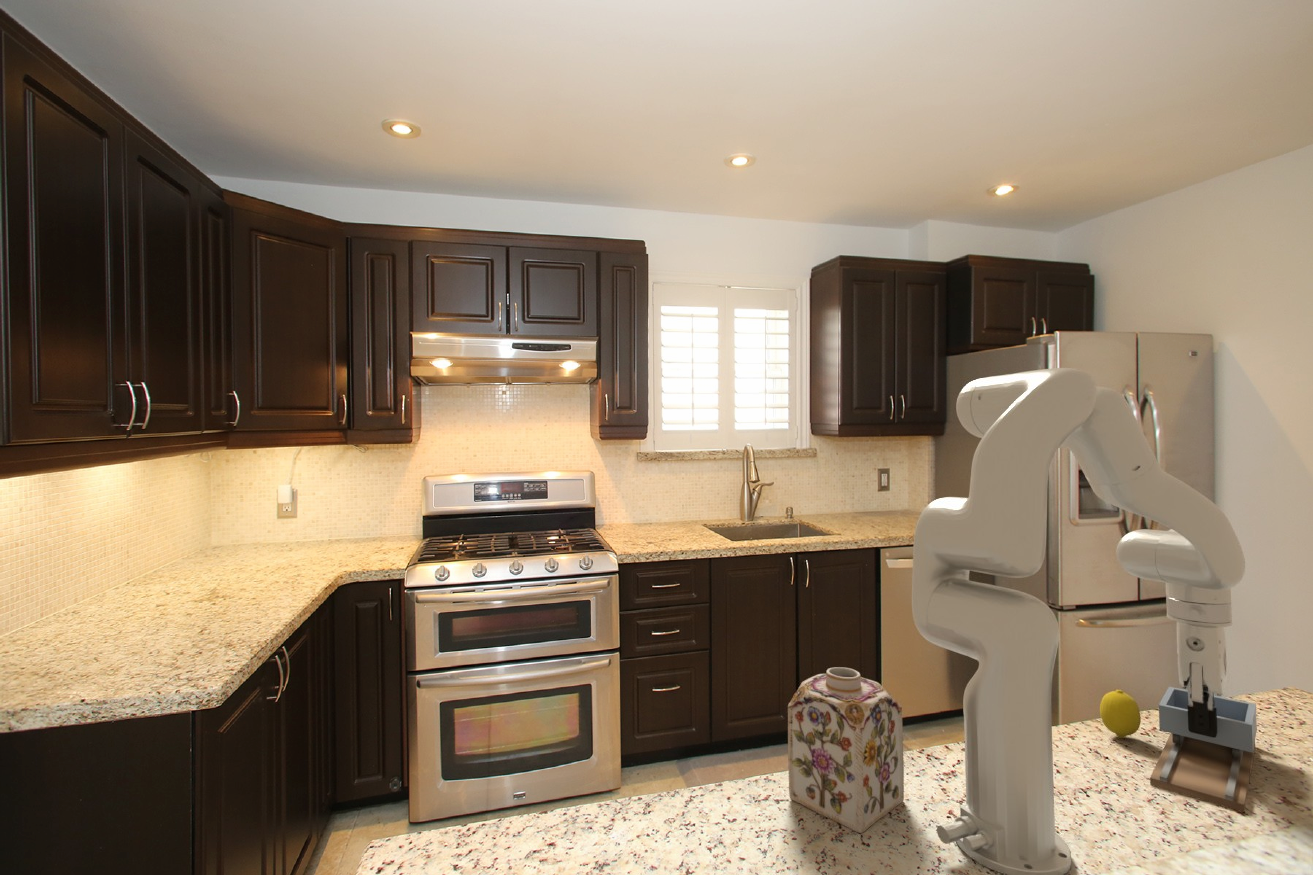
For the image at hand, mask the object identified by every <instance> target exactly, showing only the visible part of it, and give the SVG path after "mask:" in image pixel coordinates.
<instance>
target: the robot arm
mask: <svg viewBox="0 0 1313 875" xmlns="http://www.w3.org/2000/svg"><path fill="white" fill-rule="evenodd" d="M955 405H956V406H955V408H956V415H957V418H958V420H959V423H960V424H961V426H962V427H963V429H964V430H965V431H967V433H969V434H970V435H972V436H974V437H977V438H980V439H981V440H979V443H978V445H977V447H976V449H975V451H974V454H973V458H972V462H971V469H970V471H971V472H970V482H969V494H968V497H961V496H960V497H958V496H946V497H941V498H937V499H935V500H933V501H931V502H930V503H929V504H927V506H925V507H924V509H923V510H922V511H921V513H920V515H919V517H918V520H917V523H916V525H915V529H914V534H913V550H912V552H913V554H912V578H911V579H912V580H911V586H912V588H911V609H912V610H911V612H912V619H913V622H914V625H915V627H916V630H917V631H918V633H919V634H920V636H922V638H924V639H925V640H926V641H927V642H929V643H931V644H933V645H936V646H938V647H939V648H943V649H946V650H949V651H952V652H955V653H958V654H960V655H963V656H967V657H969V658H971V659H974V660H976V661H977V662H978V668H977V670H976V671H975V673H974V674H973V675H972V677H971V678H970V680H969V681H968V683H967V684H966V686H965V689H964V691H963V692H964V693H963V700H962V702H963V705H962V706H963V707H962V708H963V710H962V711H963V727H964V728H963V729H964V730H963V731H964V760H965V761H964V765H965V768H964V769H965V798H966V804H964V805H960V807H959V808H960V810H959V812H960V814H959V815H958V816H957V817H956V818H955V819H954V822H947V823H944V824H940V825H937V828H936V833H937V836H938V838H939V840H940V842H942V844H946V845H947V844H951V843H955V842H956V844H957V845H958V847H959V848H960V849H961V851H963V852H964V853H965V854H967V856H968V857H970V858H971V859H973V860H974V861H976V862H977V863H979V864H980V865H982V866H985V867H986V868H988V869H990V870H993V871H995V872H998V873H1000V874H1004V875H1065V874H1066V873H1068V872H1069V870H1070V868H1071V867H1072V854H1071V850H1070V848H1069V845H1068V844H1067V842H1065V840H1064V839H1063V838H1062V837H1061V836H1060V835H1059V834H1057V832H1056V823H1055V822H1056V819H1055V817H1056V816H1055V793H1054V791H1055V790H1054V789H1055V788H1054V758H1053V757H1054V755H1053V752H1054V751H1053V724H1052V722H1053V721H1052V686H1053V677H1054V676H1053V675H1054V668H1055V662H1056V657H1057V652H1058V647H1059V642H1060V626H1059V623H1058V619H1057V617H1056V614H1055V613H1054V612H1053V610H1052V609H1051V608H1050V607H1049V605H1047V604H1046V603H1045V602H1044V601H1042V600H1041V599H1040V598H1038V597H1036V596H1034V595H1032V594H1029V593H1027V592H1023V591H1022V590H1021V591H1020V590H1017V589H1013V588H1010V587H1009V588H1008V587H1003V586H1000V585H994V584H991V583H983V582H977V581H975V580H973V581H972V580H970V571H971V572H975V573H979V574H980V573H982V574H985V575H990V576H991V575H992V576H998V577H1005V578H1014V579H1015V578H1016V579H1021V578H1028V577H1031V576H1033V575H1035V574H1036V573H1038V572H1039V571H1040V569H1041V568H1042V565H1043V563H1044V560H1045V555H1046V549H1047V548H1046V546H1047V523H1048V522H1047V520H1048V483H1049V473H1050V467H1051V465H1052V464H1051V463H1052V460H1053V458H1054V457H1055V454H1056V452H1057V451H1058V449H1067V450H1069V451H1070V452H1071V453H1072V454H1073V456H1074V458H1075V460H1076V462H1077V464H1078V465H1079V467H1080V469H1081V471H1082V473H1083V475H1084V476H1085V478H1086V480H1087V482H1088V484H1089V485H1090V488H1091V489H1092V491H1093V493H1094V494H1095V495H1096V496H1097V498H1099V499H1100V500H1102V501H1104V502H1105V503H1108V504H1109V505H1112V506H1113V507H1114V506H1115V507H1117V508H1119V509H1121V510H1123V511H1127V512H1129V513H1130V514H1131V513H1132V514H1134V515H1137V516H1140V517H1143V518H1145V519H1146V518H1147V519H1148V520H1151V521H1154V522H1156V523H1158V524H1161V525H1163V526H1165V527H1167V528H1169V530H1160V529H1147V528H1144V529H1136V530H1133V531H1130V532H1127V533H1126V534H1125V535H1124V536H1123V537H1121V539H1120V540H1119V541H1118V543H1117V546H1116V551H1115V552H1116V554H1115V555H1116V560H1117V562H1118V564H1119V566H1120V567H1121V568H1122V570H1123V571H1125V572H1126V573H1128V574H1129V575H1131V576H1133V577H1135V578H1138V579H1142V580H1147V581H1154V582H1158V583H1159V582H1161V583H1165V595H1166V596H1165V598H1166V599H1165V602H1166V603H1165V604H1166V618H1168V619H1169V620H1170V621H1171V620H1172V621H1174V622H1176V655H1177V668H1178V669H1177V671H1178V682H1179V686H1180V687H1181V689H1184V690H1188V705H1187V707H1188V730H1189V731H1190V732H1192V733H1196V734H1200V735H1204V736H1209V737H1213V738H1215V737H1216V736H1217V708H1214V707H1215V696H1219V697H1222V696H1224V694H1225V692H1226V690H1227V689H1226V688H1227V686H1228V681H1229V679H1228V678H1229V677H1228V667H1227V666H1228V665H1227V647H1226V635H1225V628H1226V627H1231V626H1232V625H1233V616H1232V615H1233V613H1232V610H1233V609H1232V608H1233V607H1232V591H1231V590H1232V588H1234V587H1236V586H1237V585H1238V584H1240V582H1241V581H1242V580H1243V578H1244V575H1245V570H1246V561H1245V560H1246V559H1245V554H1244V552H1243V548H1242V545H1241V543H1240V540H1239V538H1238V536H1237V534H1236V532H1235V530H1234V528H1233V526H1232V524H1231V522H1230V520H1229V519H1228V517H1227V515H1226V514H1225V512H1224V511H1223V510H1221V508H1220V507H1219V506H1218V505H1216V503H1214V502H1213V501H1212V500H1211V499H1209V498H1207V497H1206V496H1205V495H1203V494H1202V493H1201V492H1199V491H1198V490H1196V489H1195V488H1193V487H1191V486H1190V485H1188V484H1187V483H1185V482H1184V481H1183V480H1180V479H1179V478H1176V477H1175V476H1173V475H1171V474H1169V473H1168V472H1166V471H1164V470H1163V469H1162V467H1161V466H1160V463H1159V461H1158V460H1157V457H1156V456H1155V453H1154V452H1153V449H1152V448H1151V446H1150V443H1149V441H1148V439H1147V438H1146V436H1145V435H1146V434H1144V431H1143V430H1142V427H1141V425H1140V424H1139V421H1138V420H1137V418H1136V416H1135V414H1134V412H1133V410H1132V408H1131V406H1130V404H1129V403H1128V400H1127V399H1126V397H1124V395H1122V394H1121V393H1120V392H1119V391H1117V390H1115V389H1114V388H1109V387H1106V386H1105V387H1103V386H1097V383H1096V381H1095V379H1094V377H1093V376H1092V375H1091V374H1089V373H1088V372H1086V371H1084V370H1082V369H1078V368H1069V367H1054V368H1043V369H1037V370H1034V369H1033V370H1028V371H1027V370H1026V371H1020V372H1015V373H1008V374H1003V375H994V376H986V377H982V378H981V377H980V378H977V379H975V380H972V381H970V382H968V383H967V384H966V385H965V386H963V388H962V389H961V390H960V392H959V394H958V395H957V399H956V404H955Z"/></svg>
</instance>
